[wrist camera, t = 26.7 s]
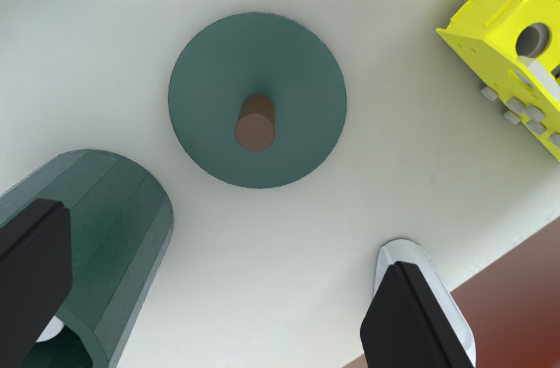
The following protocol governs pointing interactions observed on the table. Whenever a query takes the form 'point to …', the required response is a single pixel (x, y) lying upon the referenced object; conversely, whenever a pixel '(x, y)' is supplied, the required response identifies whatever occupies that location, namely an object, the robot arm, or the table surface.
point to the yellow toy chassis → (514, 59)
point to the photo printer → (417, 255)
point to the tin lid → (257, 100)
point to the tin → (98, 251)
